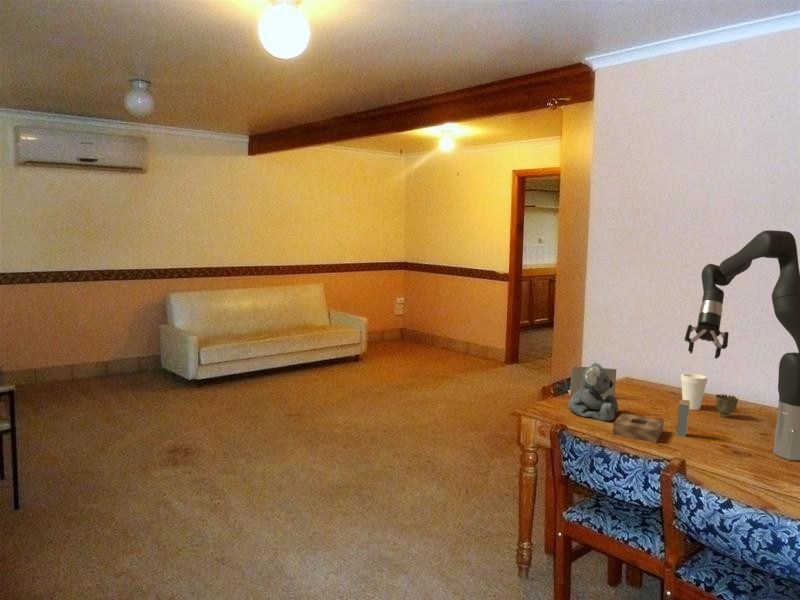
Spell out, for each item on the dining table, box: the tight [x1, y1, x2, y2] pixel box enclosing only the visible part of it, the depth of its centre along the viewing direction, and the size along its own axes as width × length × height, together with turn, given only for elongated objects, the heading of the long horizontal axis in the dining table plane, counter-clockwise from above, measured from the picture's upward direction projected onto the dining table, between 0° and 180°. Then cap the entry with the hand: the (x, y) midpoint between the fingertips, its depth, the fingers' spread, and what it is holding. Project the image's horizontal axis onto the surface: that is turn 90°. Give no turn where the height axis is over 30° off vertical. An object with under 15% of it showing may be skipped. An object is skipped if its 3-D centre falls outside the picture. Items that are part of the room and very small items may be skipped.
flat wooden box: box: [612, 412, 665, 443], centre depth 214 cm, size 14×14×4 cm
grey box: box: [567, 365, 617, 397], centre depth 264 cm, size 18×12×13 cm
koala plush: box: [567, 361, 619, 422], centre depth 234 cm, size 17×18×20 cm
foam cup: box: [680, 372, 708, 411], centre depth 247 cm, size 10×9×13 cm
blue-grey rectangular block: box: [675, 398, 690, 437], centre depth 213 cm, size 3×3×12 cm
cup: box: [715, 393, 739, 418], centre depth 237 cm, size 8×7×8 cm
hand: (703, 355), depth 228 cm, fingers open, 8 cm apart
